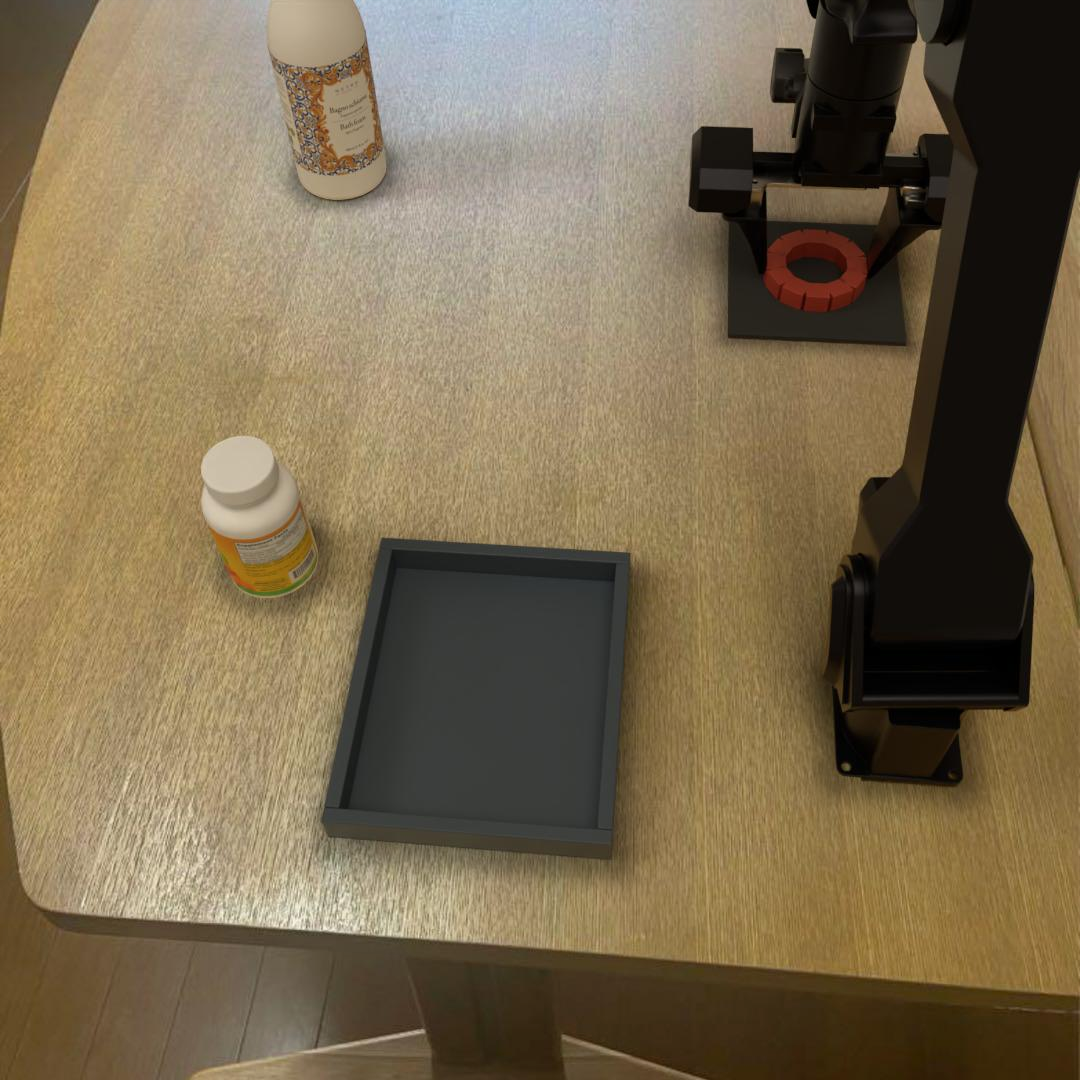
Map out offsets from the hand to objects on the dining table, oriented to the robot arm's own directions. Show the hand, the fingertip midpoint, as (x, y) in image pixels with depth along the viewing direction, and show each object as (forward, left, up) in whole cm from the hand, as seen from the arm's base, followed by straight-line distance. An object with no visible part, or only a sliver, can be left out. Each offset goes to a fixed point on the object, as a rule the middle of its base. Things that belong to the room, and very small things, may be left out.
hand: (814, 272), depth 84 cm
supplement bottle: (-27, +33, -1) cm, 43 cm away
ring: (0, 0, 0) cm, 0 cm away
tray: (-35, +19, -1) cm, 40 cm away
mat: (0, 0, -1) cm, 1 cm away
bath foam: (+10, +36, -1) cm, 37 cm away
